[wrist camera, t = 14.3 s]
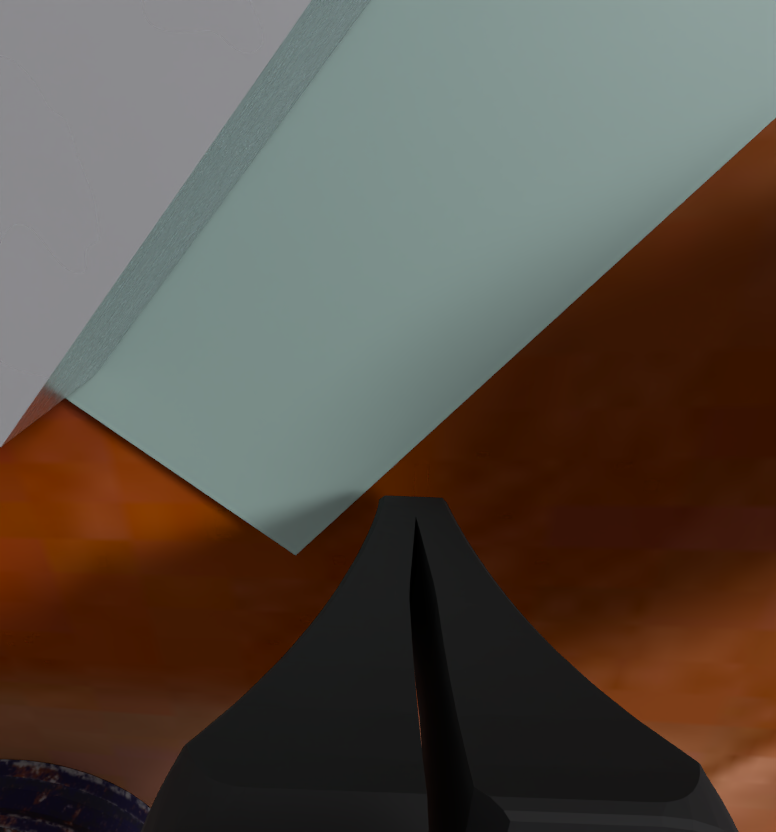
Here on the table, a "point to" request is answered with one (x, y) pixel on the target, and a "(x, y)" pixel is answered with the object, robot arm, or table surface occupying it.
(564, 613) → the table surface
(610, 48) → the vise base
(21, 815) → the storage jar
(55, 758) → the table surface
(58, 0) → the bar
